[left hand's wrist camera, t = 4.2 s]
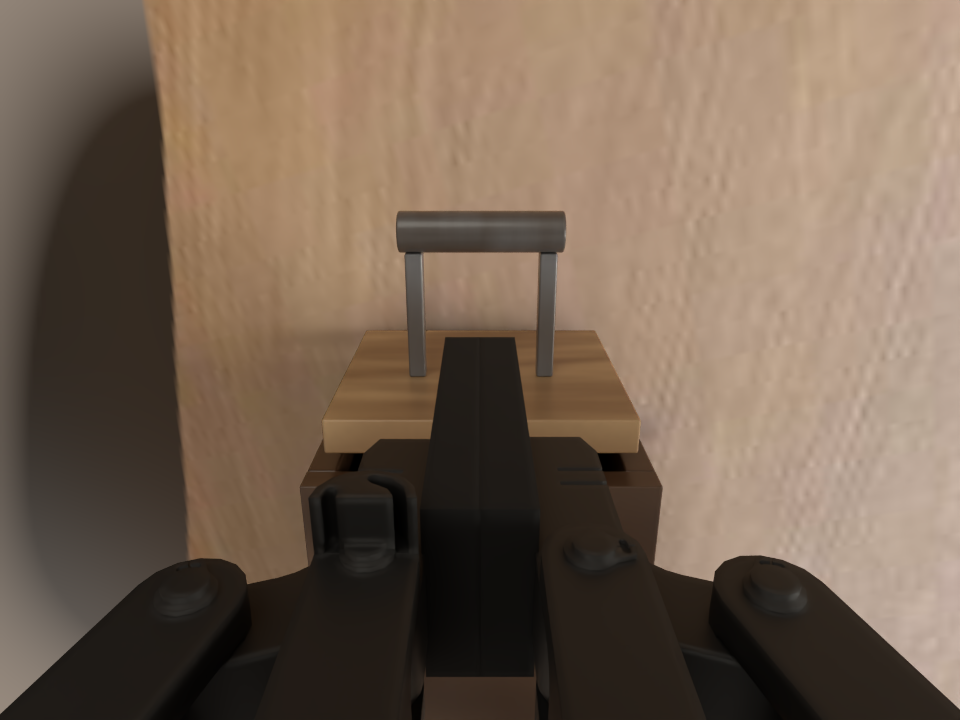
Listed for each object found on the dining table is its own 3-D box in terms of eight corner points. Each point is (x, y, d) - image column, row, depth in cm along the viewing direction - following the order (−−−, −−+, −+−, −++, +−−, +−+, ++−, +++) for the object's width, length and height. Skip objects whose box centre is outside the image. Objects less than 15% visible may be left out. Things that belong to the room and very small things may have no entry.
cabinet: (358, 360, 31) (299, 486, 21) (602, 360, 31) (663, 486, 21) (377, 636, 37) (338, 841, 26) (583, 635, 37) (623, 841, 26)
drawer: (357, 192, 27) (303, 231, 19) (604, 192, 27) (659, 231, 19) (383, 603, 35) (352, 762, 26) (577, 603, 35) (609, 762, 26)
